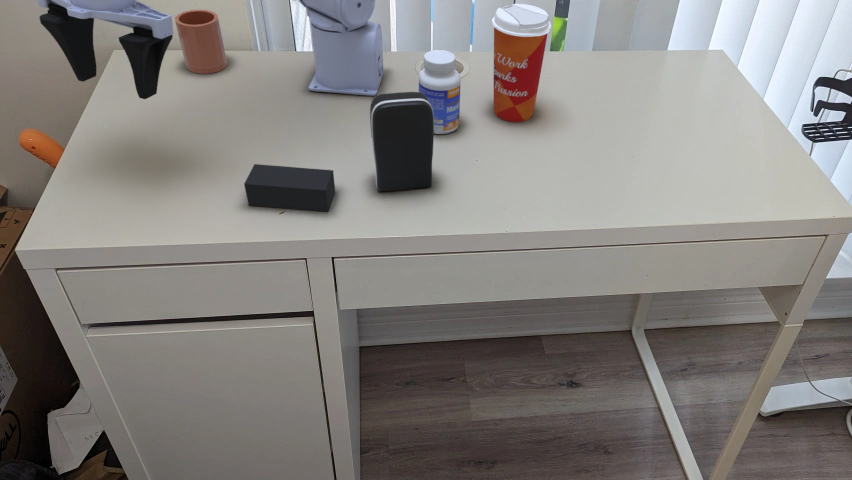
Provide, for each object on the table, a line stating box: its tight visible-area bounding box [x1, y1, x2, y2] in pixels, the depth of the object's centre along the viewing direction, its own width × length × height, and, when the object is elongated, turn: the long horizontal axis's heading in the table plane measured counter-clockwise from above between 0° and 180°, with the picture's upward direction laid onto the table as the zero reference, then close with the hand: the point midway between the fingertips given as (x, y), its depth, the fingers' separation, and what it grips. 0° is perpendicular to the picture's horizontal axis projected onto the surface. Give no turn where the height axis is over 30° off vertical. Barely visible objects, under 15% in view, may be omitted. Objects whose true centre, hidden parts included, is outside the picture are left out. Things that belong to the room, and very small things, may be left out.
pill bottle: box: [418, 49, 461, 135], centre depth 94 cm, size 5×5×10 cm
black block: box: [243, 163, 336, 213], centre depth 82 cm, size 9×4×3 cm, turn 88°
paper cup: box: [491, 3, 552, 123], centre depth 97 cm, size 8×8×14 cm
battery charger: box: [369, 91, 435, 192], centre depth 83 cm, size 7×4×11 cm, turn 106°
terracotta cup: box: [174, 9, 228, 75], centre depth 103 cm, size 6×6×7 cm
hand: (117, 86), depth 79 cm, fingers open, 7 cm apart
